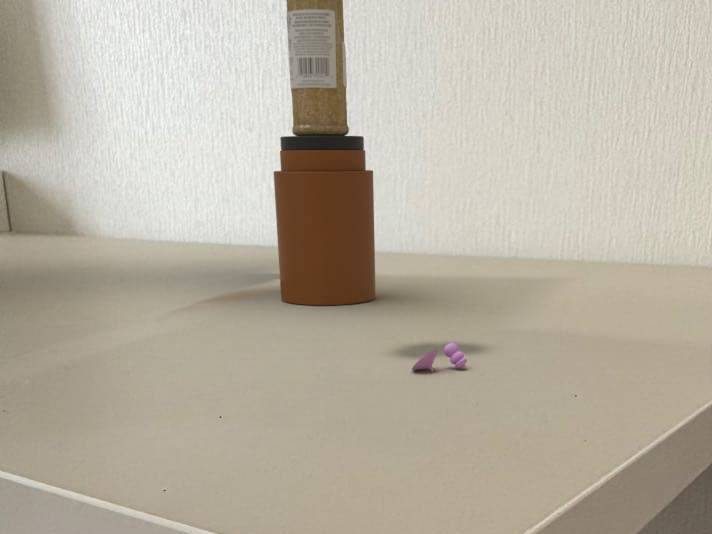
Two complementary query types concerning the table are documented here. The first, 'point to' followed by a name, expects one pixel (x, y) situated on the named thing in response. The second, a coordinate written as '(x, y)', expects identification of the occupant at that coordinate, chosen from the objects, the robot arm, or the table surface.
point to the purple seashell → (449, 351)
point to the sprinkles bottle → (317, 67)
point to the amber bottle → (325, 221)
